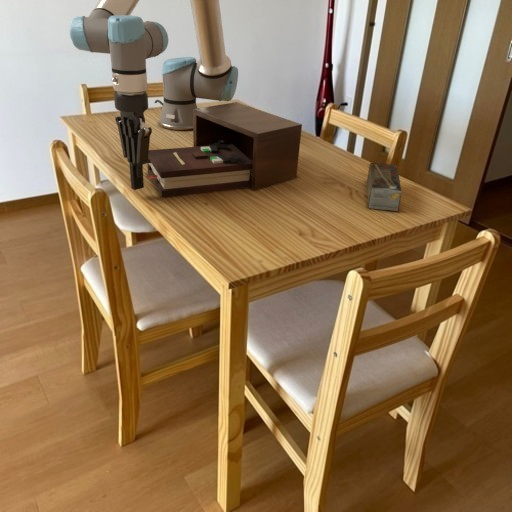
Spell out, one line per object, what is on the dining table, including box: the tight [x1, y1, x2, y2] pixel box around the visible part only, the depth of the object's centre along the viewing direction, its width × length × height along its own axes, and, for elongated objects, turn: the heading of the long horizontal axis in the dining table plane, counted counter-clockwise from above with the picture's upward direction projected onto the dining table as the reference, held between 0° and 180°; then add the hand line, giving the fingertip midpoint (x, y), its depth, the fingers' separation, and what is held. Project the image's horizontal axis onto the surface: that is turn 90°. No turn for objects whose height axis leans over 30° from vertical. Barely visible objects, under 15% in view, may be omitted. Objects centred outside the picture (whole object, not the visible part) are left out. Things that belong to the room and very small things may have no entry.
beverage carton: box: [366, 162, 402, 212], centre depth 131 cm, size 8×19×7 cm, turn 170°
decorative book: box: [145, 141, 253, 198], centre depth 133 cm, size 19×8×30 cm
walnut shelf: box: [192, 101, 303, 191], centre depth 140 cm, size 28×16×16 cm, turn 42°
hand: (137, 187), depth 122 cm, fingers closed
